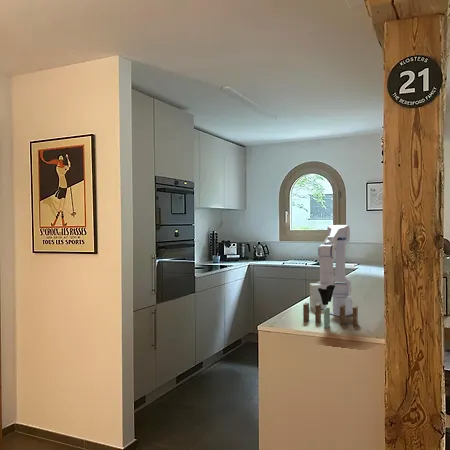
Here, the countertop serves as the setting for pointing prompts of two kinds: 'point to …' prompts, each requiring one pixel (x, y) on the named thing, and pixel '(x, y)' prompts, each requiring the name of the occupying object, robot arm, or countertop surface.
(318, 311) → the domino
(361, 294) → the countertop surface
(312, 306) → the supplement box
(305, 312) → the domino
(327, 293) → the robot arm
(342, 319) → the domino
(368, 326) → the countertop surface
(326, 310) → the domino
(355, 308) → the brown flat rectangular block
